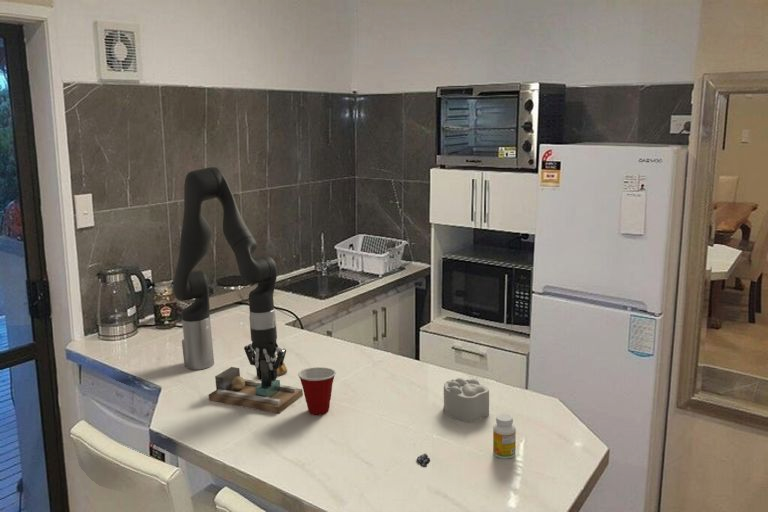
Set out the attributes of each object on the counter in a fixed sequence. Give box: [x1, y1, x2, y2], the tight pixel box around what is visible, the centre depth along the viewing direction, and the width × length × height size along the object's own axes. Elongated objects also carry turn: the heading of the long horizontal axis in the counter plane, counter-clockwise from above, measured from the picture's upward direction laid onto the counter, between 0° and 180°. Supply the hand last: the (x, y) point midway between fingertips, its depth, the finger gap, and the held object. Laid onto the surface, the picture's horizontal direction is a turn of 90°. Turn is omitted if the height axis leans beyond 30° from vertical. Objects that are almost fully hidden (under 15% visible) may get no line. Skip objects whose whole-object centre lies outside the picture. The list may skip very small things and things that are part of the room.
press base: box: [208, 366, 304, 414], centre depth 192 cm, size 25×13×7 cm, turn 66°
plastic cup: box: [297, 366, 337, 416], centre depth 181 cm, size 11×11×12 cm
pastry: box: [277, 362, 288, 377], centre depth 210 cm, size 9×7×4 cm
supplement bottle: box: [492, 413, 517, 460], centre depth 155 cm, size 5×5×10 cm
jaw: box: [255, 357, 281, 398], centre depth 189 cm, size 4×7×11 cm, turn 156°
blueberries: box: [415, 453, 431, 468], centre depth 154 cm, size 7×8×2 cm
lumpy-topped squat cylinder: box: [443, 377, 490, 423], centre depth 179 cm, size 10×13×9 cm
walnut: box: [232, 375, 245, 390], centre depth 194 cm, size 4×4×4 cm
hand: (267, 379), depth 189 cm, fingers closed on jaw, 3 cm apart
